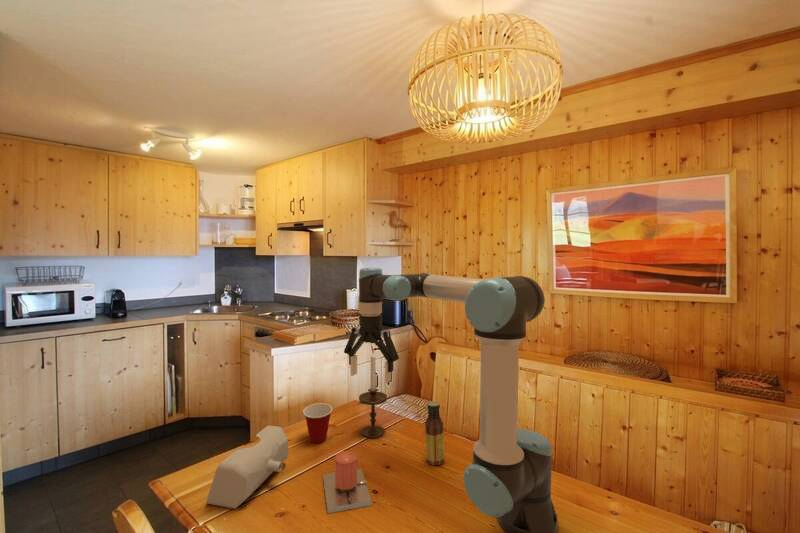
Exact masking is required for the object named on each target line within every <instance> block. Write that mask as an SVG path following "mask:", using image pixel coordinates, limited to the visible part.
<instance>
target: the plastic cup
mask: <svg viewBox="0 0 800 533" xmlns="http://www.w3.org/2000/svg"><path fill="white" fill-rule="evenodd" d="M332 412H333V407H332V405H330V404H329V403H324V402H323V403H322V402H317V403H312V404H310V405H308V406H306V407H305V408H303V411H302V414H303V416H304V417H305V421H306V427H307V432H308V437H309V441H310V443H312V444H314V445H317V444H318V445H319V444H322V443H325V441H326V439H327V436H328V430H329V426H330V425H329V424H330V418H331V414H332Z"/></svg>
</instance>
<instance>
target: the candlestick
mask: <svg viewBox="0 0 800 533" xmlns="http://www.w3.org/2000/svg"><path fill="white" fill-rule="evenodd" d="M370 347H371V351H372V353H371V355H370V388H368V389H367V392H363V393H360V395H358V396H359V397H358V401H359V402H360V403H361V404H363V405H367V406H371V409H370V410H371V411H370V413H369V414H368V415H369V416H370V420H369V422H370V424H371V425H367V426H364V427H363V428H362V429H361V431H360V432H361V436H362V437H363V438H365V439H369V440H376V439H380V438H382V437H384V435H385V433H386V432H385V430H386V429H385V428H384V427H382V426H379V425H376V421H377V419H376V417H377V414H378V413H377V412H376V411H375V409H376V405H382V404H384V403H386V402H387V400H388V395H387V394H386V393H384V392H381V391H379V388H376V355H375V353H374V351H375V349H374V347H373V345H372V344H370Z"/></svg>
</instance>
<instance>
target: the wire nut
mask: <svg viewBox="0 0 800 533" xmlns="http://www.w3.org/2000/svg"><path fill="white" fill-rule="evenodd" d="M357 458H358V456H357V453H355V452H354V451H352V450H344V451H340V452H338V453H336V455H335V457H334V473H335V485H336V488H338V489H341V490H348V489H352V488H353V487H354V486H356V485H357V469H358V459H357Z"/></svg>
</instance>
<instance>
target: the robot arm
mask: <svg viewBox="0 0 800 533" xmlns="http://www.w3.org/2000/svg"><path fill="white" fill-rule="evenodd" d="M358 277H359V278H358V297H359V298H358V300H359V301H358V313H359V316H358V323H359V324H358V326H354V327H352V328H351V333H350V336H349V337H348V340H347V343H346V345H345V348H344V351H343V353H344V354H347V355H348V365H349V366H350V376H351V377H353V376H356V375H357V374H358V354H357V352H358V351H359V349H360V348H361V347H362V346H363V344H364V343H367V344H368V343H370V344H374V345H375V346H376V347H377V348H378V349H379V351H380V352H381V354H382V355H383V357H384V359H385V360H386V361H385V362H384V383H385V384H387V383H389V382H391V381H392V372H393V371H394V362H396V361H398V360H399V359H400V356H399V354H398V352H397V348H396V346H395V344H394V341H393V339H392V337H391V336H392V335H391V330H389V329H387V330H382V325H383V315H382V313H383V300H384V299H385V300H391V301H393V302H395V301H404V300H405V299H408V298H415V297H421V298H427V299H429V298H430V299H435V300H440V301H441V300H442V301H449V302H454V303H455V302H456V303H463V304H464V313H465V317H466V319H467V320H468V321H469V324H470V325H471V326H472V327H473V328H474V331H473V334H474V336H475V338H477V339H478V340H479V342H480V370H479V371H480V381H479V382H480V383H479V384H480V386H479V387H480V389H479V390H480V391H479V392H480V393H479V395H480V396H479V402H480V403H479V439H478V440H476V441H475V443H474V444H473V448H472V464H469V465H468V466H467V467H466V469H465V470H464V471H463V476H462V478H463V479H462V480H463V487H464V489H465V492H466V494H467V496H468V498H469V499H470V500H471V502H472V504H473V505H474V507H476V508H477V509H478V510H479V511H480V512H481V513H483V514H484V515H486V516H489V517H492V518H496V519H497V522H498V524H499V526H501V528H502V529H503V530H504V531H505V532H506V533H558V527H559V525H558V524H559V523H558V522H559V520H558V515H557V512H556V510H555V506H554V503H553V500H552V496H551V495H552V486H551V485H552V467H553V466H552V464H553V461H552V460H553V453H552V444H551V441H550V440H549V439H548V438H547V437H546V436H544V435H543V434H541V433H539V432H536V431H532V430H529V429H524V428H518V427H519V426H518V423H519V422H518V421H519V420H518V419H519V416H518V414H519V411H518V410H519V361H520V360H519V357H520V356H519V352H520V348H519V347H520V343H522V342H523V341H524V340H525V339H526V337H527V323H529V322H531V321H533V320H535V319H537V318H538V316H540V314H541V313H542V312H543V309H544V306H545V302H546V299H545V293H544V291H543V289H542V287H541V286H540V284H539V283H538V282H537V281H535V280H534V279H533V278H531V277H528V276H523V275H514V276H500V277H499V276H497V277H489V278H486V279H484V278H474V277H464V276H463V277H462V276H450V275H438V274H433V273H428V272H422V273H411V274H409V273H407V274H406V273H405V274H383V270H382V268H381V267H361V268H360V269H359V276H358ZM359 335H360V337H359V338H358V336H359ZM357 338H358V339H357Z"/></svg>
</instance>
